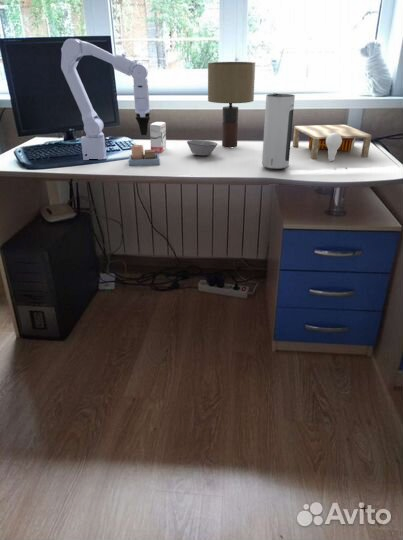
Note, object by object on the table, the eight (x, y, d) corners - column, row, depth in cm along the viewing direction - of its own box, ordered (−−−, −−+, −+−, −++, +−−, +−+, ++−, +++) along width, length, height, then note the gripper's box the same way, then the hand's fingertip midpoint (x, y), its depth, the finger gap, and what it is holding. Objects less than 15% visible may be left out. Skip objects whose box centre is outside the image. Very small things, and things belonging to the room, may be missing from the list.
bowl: (180, 153, 179) (181, 141, 177) (196, 149, 189) (196, 138, 187) (207, 157, 173) (208, 145, 171) (221, 154, 184) (222, 142, 182)
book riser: (312, 158, 174) (314, 136, 170) (292, 145, 196) (294, 126, 192) (367, 156, 176) (371, 135, 172) (342, 144, 199) (344, 124, 195)
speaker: (282, 170, 158) (288, 95, 146) (257, 166, 163) (261, 94, 151) (292, 164, 166) (299, 92, 154) (268, 161, 171) (272, 91, 159)
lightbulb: (339, 160, 172) (343, 132, 166) (338, 163, 167) (342, 134, 161) (323, 159, 173) (327, 131, 168) (322, 162, 168) (326, 134, 163)
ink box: (161, 153, 185) (160, 125, 179) (150, 152, 186) (148, 124, 180) (167, 149, 192) (165, 121, 187) (156, 148, 193) (154, 121, 188)
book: (308, 149, 191) (309, 137, 189) (314, 143, 202) (315, 133, 199) (350, 152, 185) (351, 141, 182) (353, 147, 195) (355, 135, 192)
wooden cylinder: (132, 162, 168) (131, 147, 165) (132, 160, 172) (131, 145, 169) (144, 162, 168) (142, 147, 165) (144, 159, 172) (142, 144, 169)
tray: (129, 165, 166) (128, 160, 165) (129, 160, 174) (129, 155, 173) (159, 164, 167) (159, 159, 166) (159, 159, 175) (158, 154, 174)
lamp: (258, 144, 200) (263, 62, 183) (238, 152, 185) (241, 63, 168) (221, 140, 209) (222, 61, 193) (199, 147, 194) (198, 63, 178)
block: (155, 161, 169) (154, 151, 167) (145, 162, 169) (144, 152, 167) (155, 159, 172) (154, 149, 171) (145, 159, 172) (144, 149, 170)
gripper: (152, 99, 161) (154, 136, 167) (151, 95, 174) (153, 129, 180) (133, 99, 160) (136, 136, 167) (134, 95, 173) (136, 130, 179)
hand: (144, 133), depth 173 cm, fingers open, 7 cm apart
